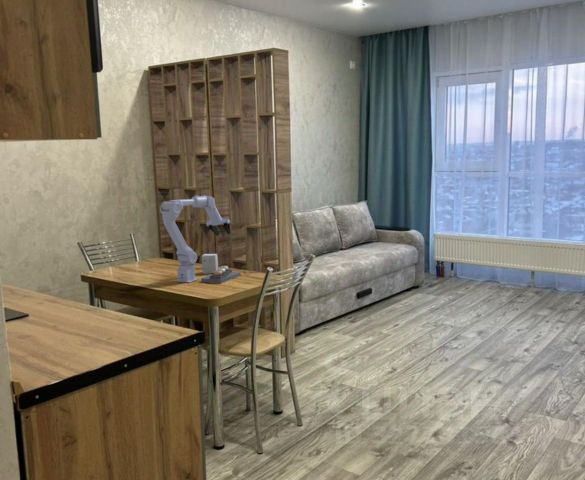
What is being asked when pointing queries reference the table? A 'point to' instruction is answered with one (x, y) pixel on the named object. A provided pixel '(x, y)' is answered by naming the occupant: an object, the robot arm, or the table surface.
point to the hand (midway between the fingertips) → (223, 234)
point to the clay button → (217, 273)
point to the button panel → (221, 277)
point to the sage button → (224, 267)
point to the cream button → (221, 270)
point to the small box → (209, 263)
